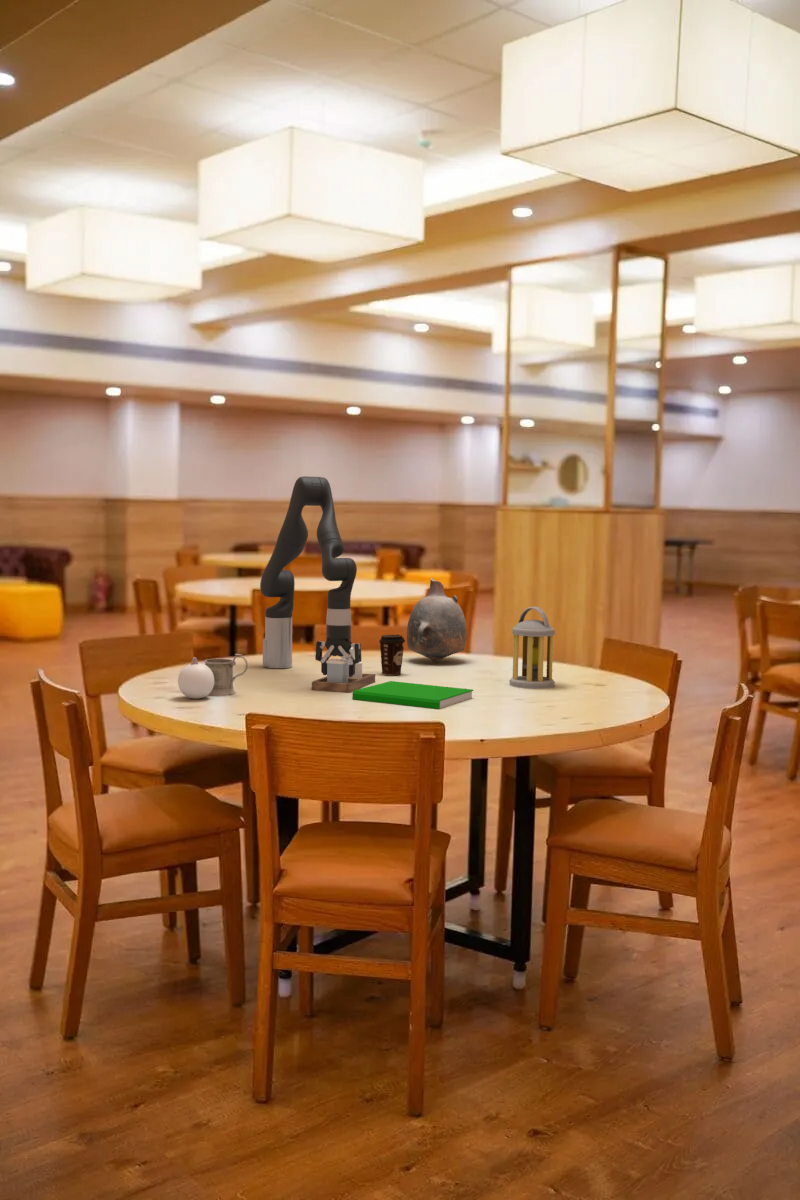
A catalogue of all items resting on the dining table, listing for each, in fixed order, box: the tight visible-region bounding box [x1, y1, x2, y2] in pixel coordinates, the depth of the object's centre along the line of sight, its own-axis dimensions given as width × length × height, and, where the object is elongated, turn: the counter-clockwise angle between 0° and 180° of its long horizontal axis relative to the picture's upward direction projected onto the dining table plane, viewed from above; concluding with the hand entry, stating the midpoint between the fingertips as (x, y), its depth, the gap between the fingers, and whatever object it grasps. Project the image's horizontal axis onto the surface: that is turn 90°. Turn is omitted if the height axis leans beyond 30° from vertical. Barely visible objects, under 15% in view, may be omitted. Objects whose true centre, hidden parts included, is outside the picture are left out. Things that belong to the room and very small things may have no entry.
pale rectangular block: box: [326, 657, 348, 684], centre depth 366 cm, size 5×5×9 cm
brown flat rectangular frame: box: [311, 672, 376, 694], centre depth 371 cm, size 12×23×2 cm, turn 162°
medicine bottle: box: [340, 647, 363, 679], centre depth 376 cm, size 7×7×12 cm
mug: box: [204, 653, 249, 697], centre depth 353 cm, size 14×10×12 cm
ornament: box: [177, 656, 214, 700], centre depth 344 cm, size 10×10×12 cm
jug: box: [406, 577, 468, 663], centre depth 427 cm, size 24×21×30 cm
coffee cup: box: [378, 634, 406, 676], centre depth 396 cm, size 9×8×13 cm
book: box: [351, 680, 474, 710], centre depth 350 cm, size 22×28×3 cm
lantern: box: [509, 606, 556, 690], centre depth 378 cm, size 14×14×25 cm
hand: (338, 675), depth 366 cm, fingers open, 8 cm apart
